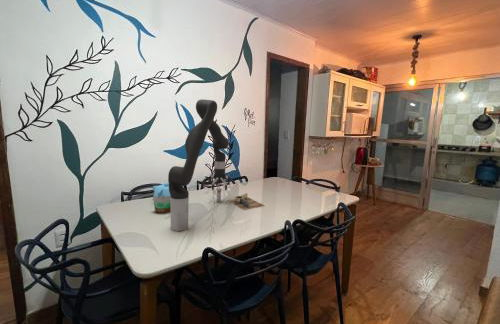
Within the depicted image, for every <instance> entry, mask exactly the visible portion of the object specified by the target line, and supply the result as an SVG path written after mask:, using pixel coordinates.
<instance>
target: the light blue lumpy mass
mask: <svg viewBox="0 0 500 324" xmlns="http://www.w3.org/2000/svg"><path fill="white" fill-rule="evenodd" d="M152 190H153V192H154V193H153V196H154V197H161V196H165V197H170V192H169V183H168V182H164V183H162V184H160V185H153V186H152Z"/></svg>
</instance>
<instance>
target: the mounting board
mask: <svg viewBox="0 0 500 324" xmlns="http://www.w3.org/2000/svg"><path fill="white" fill-rule="evenodd" d="M246 201H248V202H250V205H249V208H247V207H245V206H243V205H241V204H236V203H235V198H234V199H229V200H227V202H230V203H231V204H233V205H234V206H236V207H238V208H240V209H241V210H242V211H247V210H252V209H258V208H262V207H263V208H264V207H266V205H264V204H262V203H261V202H258V201H257V200H254V199H253V198H250V197H248V196H247V199H246Z"/></svg>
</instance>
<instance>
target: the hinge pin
mask: <svg viewBox="0 0 500 324" xmlns="http://www.w3.org/2000/svg"><path fill="white" fill-rule="evenodd" d="M215 189H216V203H218V204H220V203H221V202H222V201H221V196H222V191H223V189H222V188H219V187H218V188H215Z"/></svg>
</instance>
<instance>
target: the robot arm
mask: <svg viewBox="0 0 500 324" xmlns="http://www.w3.org/2000/svg"><path fill="white" fill-rule="evenodd" d="M195 110H196V112H197V115H198V116H199V118H200V119H201V121H200V122H198V123H197V124H196V125H195V126H194V127H192V128H191V130H190V131H189V132H188V134H187V137H186V139H185V142H184V147H185V154H186V158H185V159H186V160H185V161H184V162H185V163H184V165H183V166H179V165H178V166H177V165H174V166H172V167H171V168H170V169H169V171H168V175H167V178H168V180H167V181H168V182H167V183H169V192H170V212H169V214H170V230H171V231H175V232H182V231H185V230H189V215H190V214H189V203H190V202H189V195H190V193H189V191H188V190H187V189H186V188H185V187H184V186H188V185H189V184H190V183H191V181H192V179H193V176H194V172H195V169H196V165H197V161H198V159H199V156H200V153H201V149H202V147H203V145H204V143H205V139H206V136H207V134H208V132H209V134H210V136H211V138H212V139H213V140H212V148H213V153H214V165H213V167H214V172H213V173H214V174H213V175H211V174H210V175H209V177H208V180H209V181H208V184H209V185H211V190H212V191H214V190H215V184H216V182H217V183H223V185H224V191H227V190H228V186H229V185H230V183H231V182H230V181H231V179H230V175H226V153H225V152H222V151H221V150H226V149H228V147H229V140H228V139H227V138H226V136H225V135H224V133H223V132H222V130H221V127H220V125H219V124H218V123H217V122H216V121H215V120H214V119H215V117H216V114H217V112H218V103H217V102H216V101H215V100H214V99H213V100H211V99H203V98H202V99H198V100H197V102H196V104H195ZM212 179H214V180H213V181H212ZM226 179H227V181H226Z"/></svg>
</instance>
